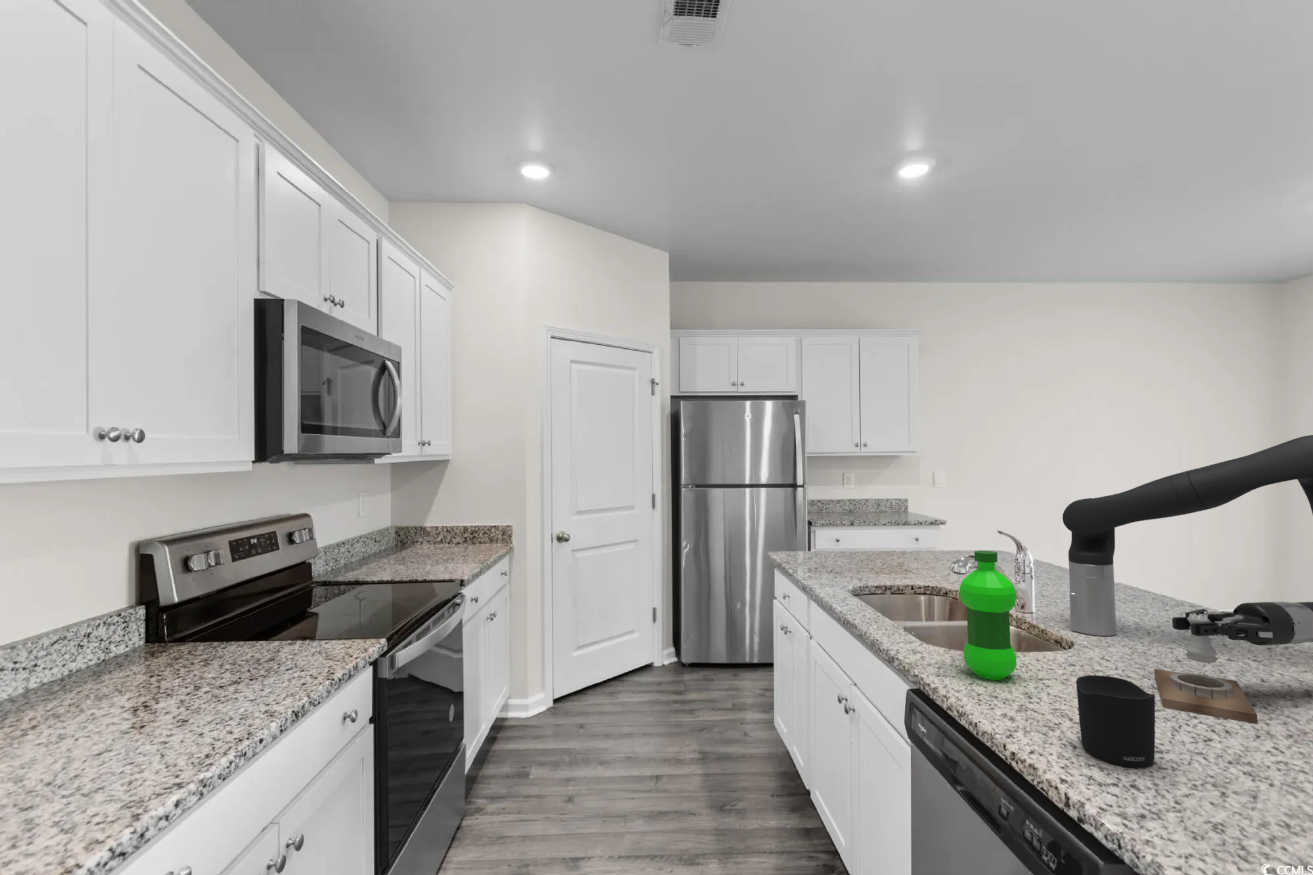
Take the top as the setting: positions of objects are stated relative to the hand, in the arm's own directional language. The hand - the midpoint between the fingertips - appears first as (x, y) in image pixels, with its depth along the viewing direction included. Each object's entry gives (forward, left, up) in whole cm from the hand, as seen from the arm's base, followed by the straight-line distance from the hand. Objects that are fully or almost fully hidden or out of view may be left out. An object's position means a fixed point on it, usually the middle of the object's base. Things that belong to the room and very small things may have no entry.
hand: (1183, 626), depth 111 cm
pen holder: (-11, -32, -13) cm, 37 cm away
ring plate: (+2, +2, -13) cm, 13 cm away
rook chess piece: (+2, +2, -6) cm, 7 cm away
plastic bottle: (-31, -6, -13) cm, 34 cm away
